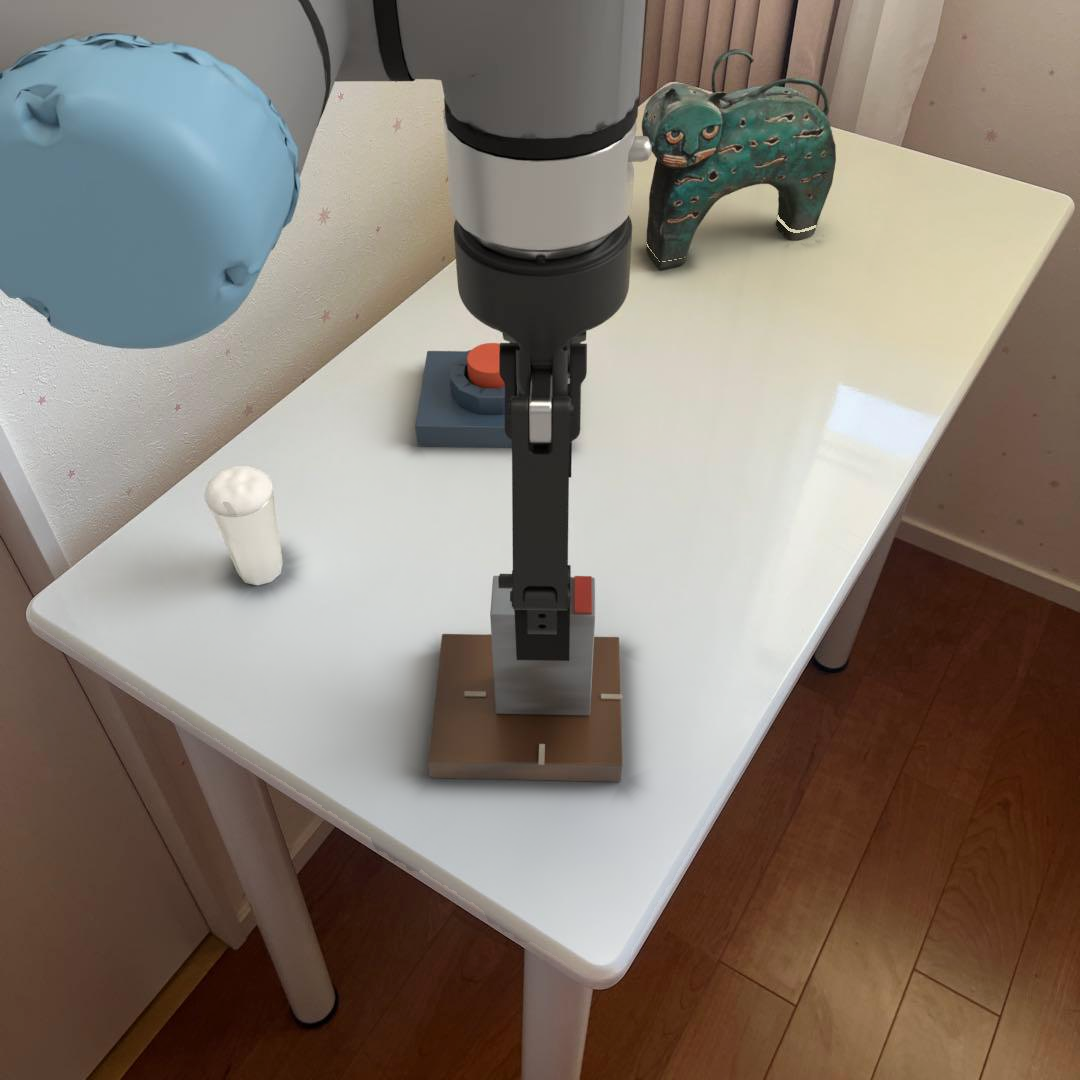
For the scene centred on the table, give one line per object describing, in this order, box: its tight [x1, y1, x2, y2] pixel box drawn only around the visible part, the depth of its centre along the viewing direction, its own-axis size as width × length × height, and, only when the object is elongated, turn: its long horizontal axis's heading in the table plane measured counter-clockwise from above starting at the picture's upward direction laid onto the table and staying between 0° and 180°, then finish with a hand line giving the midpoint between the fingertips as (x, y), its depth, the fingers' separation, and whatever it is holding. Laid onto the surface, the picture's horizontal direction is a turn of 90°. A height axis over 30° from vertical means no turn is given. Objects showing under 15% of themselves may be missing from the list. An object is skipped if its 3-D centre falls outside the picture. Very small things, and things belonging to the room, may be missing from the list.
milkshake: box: [203, 465, 284, 586], centre depth 78 cm, size 5×5×10 cm
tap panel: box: [427, 633, 624, 783], centre depth 72 cm, size 12×10×2 cm
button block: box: [415, 349, 519, 448], centre depth 92 cm, size 12×10×4 cm
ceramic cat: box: [641, 48, 837, 271], centre depth 104 cm, size 20×6×20 cm, turn 109°
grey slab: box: [489, 575, 596, 716], centre depth 67 cm, size 6×3×10 cm, turn 89°
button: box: [467, 342, 505, 389], centre depth 91 cm, size 4×4×2 cm
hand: (546, 557), depth 61 cm, fingers open, 13 cm apart
